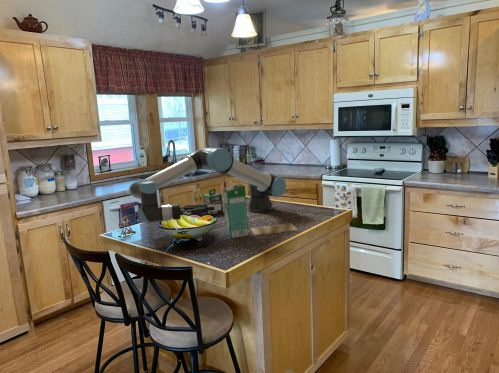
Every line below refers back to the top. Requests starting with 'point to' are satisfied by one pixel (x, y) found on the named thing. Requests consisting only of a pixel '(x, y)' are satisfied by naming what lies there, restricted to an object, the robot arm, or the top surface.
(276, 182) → the robot arm
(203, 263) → the top surface
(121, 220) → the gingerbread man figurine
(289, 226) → the cork mat
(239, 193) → the milk carton
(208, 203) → the chalk box
